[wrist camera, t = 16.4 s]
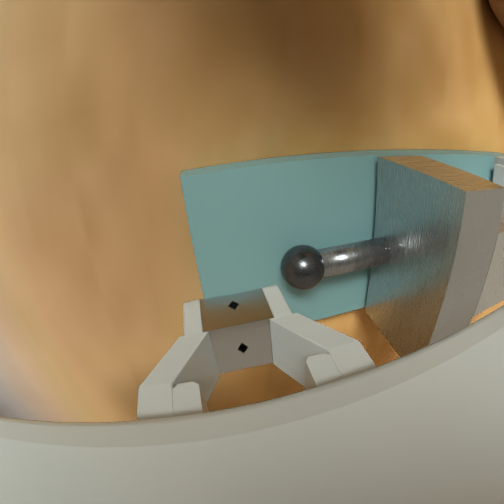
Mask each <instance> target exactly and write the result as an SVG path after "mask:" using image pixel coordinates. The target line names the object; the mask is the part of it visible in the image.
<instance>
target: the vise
mask: <svg viewBox="0 0 504 504" xmlns="http://www.w3.org/2000/svg"><path fill="white" fill-rule="evenodd" d="M419 155H421V156H424V157H427V158H430V159H433V160H436V161H439V162H442V163H444V164H447V165H450V166H453V167H456V168H458V169H461V170H464V171H466V172H469V173H471V174H474V175H476V176H479V177H481V178H484V179H486V180H489V181H491V182H493V183H496V184H498V185H500V186H502V187H504V154H501V153H496V152H481V151H462V150H369V151H348V152H332V153H318V154H306V155H295V156H285V157H276V158H267V159H259V160H251V161H243V162H236V163H229V164H222V165H216V166H209V167H203V168H197V169H191V170H186V171H181V176H180V178H181V184H182V190H183V196H184V201H185V207H186V212H187V218H188V223H189V228H190V233H191V239H192V244H193V249H194V253H195V258H196V263H197V268H198V273H199V277H200V282H201V286H202V291H203V295H204V299H206V298H212V297H217V296H223V295H229V294H236V293H241V292H245V291H250V290H255V289H259V288H262V287H266V286H271V285H275V284H276V285H278V287H279V289H280V291H281V293H282V294H283V296H284V298H285V300H286V302H287V304H288V306H289V308H290V310H291V312H292V314H294V313H299V314H301V315H303V316H305V317H307V318H309V319H312V320H314V321H315V320H319V319H323V318H327V317H331V316H335V315H338V314H342V313H346V312H349V311H353V310H357V309H360V308H364V307H366V301H367V294H368V287H369V279H370V271H371V268H367V269H363V270H358V271H354V272H350V273H345V274H341V275H336V276H332V277H327V278H323V279H322V280H321V281H320V283H319V284H317V285H316V286H315V287H313V288H311V289H308V290H298V289H295V288H293V287H291V286H289V285H288V284H287V283H286V282H285V280H284V279H283V277H282V275H281V270H280V265H281V260H282V258H283V256H284V254H285V253H286V252H287V251H288V250H289V249H290V248H292V247H294V246H297V245H309V246H312V247H314V248H315V249H321V248H326V247H332V246H337V245H342V244H348V243H353V242H358V241H363V240H368V239H374V230H375V216H376V199H377V169H378V157H382V156H419Z"/></svg>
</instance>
